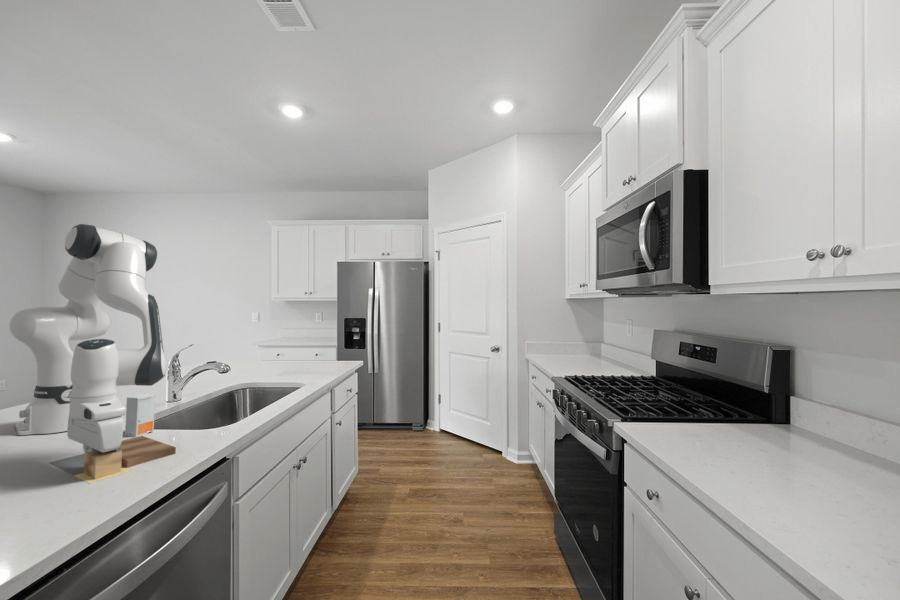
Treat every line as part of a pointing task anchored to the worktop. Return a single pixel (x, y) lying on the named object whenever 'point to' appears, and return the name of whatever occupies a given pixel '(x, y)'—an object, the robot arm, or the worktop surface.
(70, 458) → the strip
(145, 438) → the walnut board
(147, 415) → the skincare box
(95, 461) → the light wooden block
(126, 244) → the robot arm
